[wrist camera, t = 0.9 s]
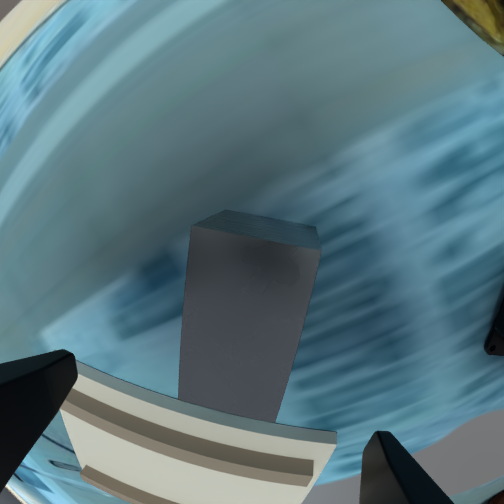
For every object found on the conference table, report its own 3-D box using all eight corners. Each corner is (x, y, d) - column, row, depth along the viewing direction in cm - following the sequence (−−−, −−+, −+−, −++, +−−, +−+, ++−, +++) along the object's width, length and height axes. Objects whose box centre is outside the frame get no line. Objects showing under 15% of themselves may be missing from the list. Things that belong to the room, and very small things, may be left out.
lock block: (315, 226, 15) (321, 251, 10) (283, 363, 17) (275, 423, 12) (226, 209, 15) (191, 225, 11) (208, 346, 18) (178, 398, 13)
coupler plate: (336, 432, 18) (338, 461, 15) (278, 528, 22) (275, 547, 20) (54, 350, 20) (34, 366, 18) (89, 469, 25) (79, 484, 22)
